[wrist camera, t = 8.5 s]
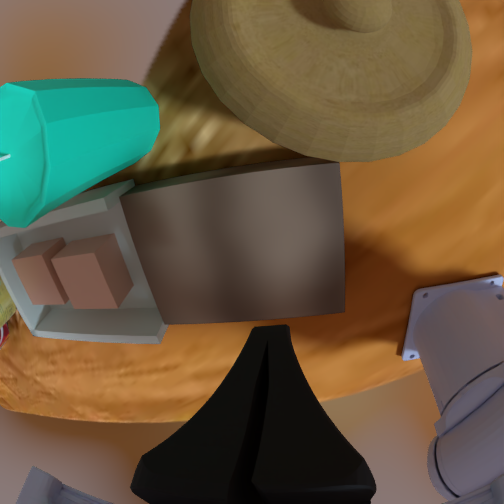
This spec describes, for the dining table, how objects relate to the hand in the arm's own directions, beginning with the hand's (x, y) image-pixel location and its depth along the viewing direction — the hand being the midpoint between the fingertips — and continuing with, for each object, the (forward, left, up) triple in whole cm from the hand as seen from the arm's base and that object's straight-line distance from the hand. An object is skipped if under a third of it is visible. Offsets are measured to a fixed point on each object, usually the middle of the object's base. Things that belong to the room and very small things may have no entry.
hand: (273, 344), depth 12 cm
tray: (+16, 0, -10) cm, 19 cm away
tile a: (+14, 0, -9) cm, 17 cm away
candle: (+9, -9, -10) cm, 17 cm away
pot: (-4, -12, -10) cm, 16 cm away
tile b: (+19, 0, -9) cm, 21 cm away
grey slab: (+2, 0, -10) cm, 10 cm away
